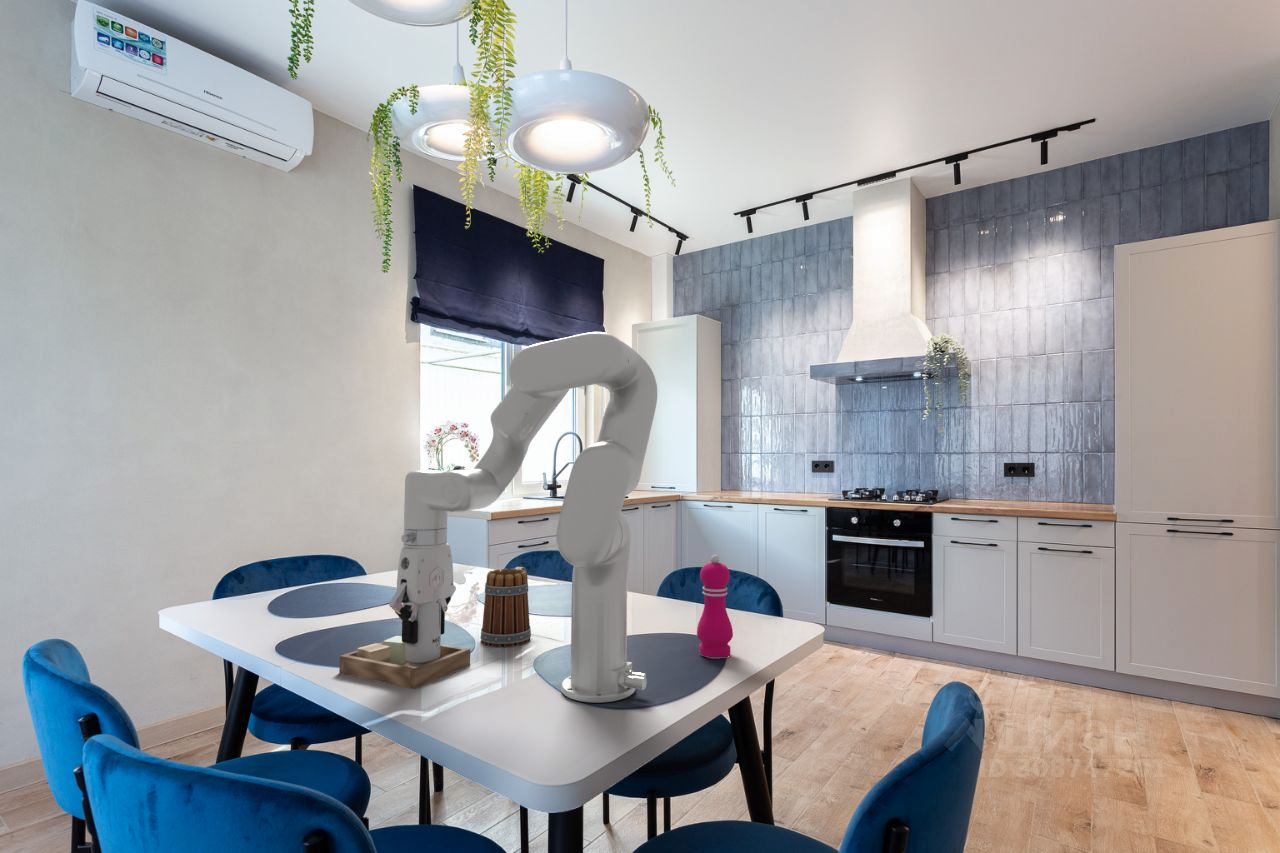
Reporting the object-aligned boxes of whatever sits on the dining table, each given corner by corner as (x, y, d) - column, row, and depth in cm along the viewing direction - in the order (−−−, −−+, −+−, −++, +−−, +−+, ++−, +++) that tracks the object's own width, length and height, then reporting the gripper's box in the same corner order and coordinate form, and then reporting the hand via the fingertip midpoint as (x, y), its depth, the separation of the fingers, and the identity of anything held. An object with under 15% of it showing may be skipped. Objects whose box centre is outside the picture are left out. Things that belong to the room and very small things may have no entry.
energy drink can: (441, 665, 118) (443, 581, 119) (405, 669, 116) (407, 583, 117) (438, 656, 124) (440, 575, 124) (404, 659, 122) (406, 577, 122)
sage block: (413, 658, 128) (414, 637, 128) (400, 664, 124) (401, 642, 124) (395, 656, 129) (396, 635, 129) (382, 662, 125) (383, 641, 125)
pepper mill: (715, 662, 128) (715, 558, 129) (689, 653, 134) (689, 554, 135) (740, 655, 133) (740, 555, 134) (714, 647, 138) (714, 551, 139)
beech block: (389, 668, 121) (390, 646, 122) (370, 674, 118) (370, 652, 118) (376, 664, 124) (376, 643, 124) (356, 670, 120) (357, 648, 121)
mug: (519, 652, 134) (520, 577, 135) (471, 648, 136) (472, 575, 137) (546, 631, 150) (546, 565, 150) (502, 629, 152) (503, 563, 152)
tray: (470, 668, 124) (470, 648, 124) (414, 692, 111) (414, 670, 111) (398, 655, 132) (399, 636, 132) (339, 676, 119) (339, 655, 119)
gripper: (405, 545, 111) (402, 653, 111) (473, 534, 127) (471, 629, 126) (372, 542, 115) (370, 647, 114) (442, 532, 130) (441, 624, 129)
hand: (423, 637), depth 120 cm, fingers closed on energy drink can, 6 cm apart
